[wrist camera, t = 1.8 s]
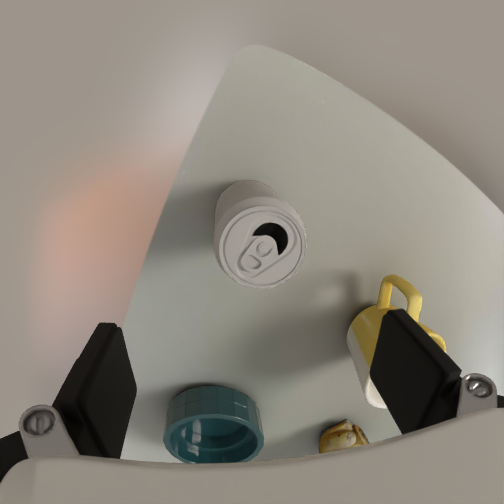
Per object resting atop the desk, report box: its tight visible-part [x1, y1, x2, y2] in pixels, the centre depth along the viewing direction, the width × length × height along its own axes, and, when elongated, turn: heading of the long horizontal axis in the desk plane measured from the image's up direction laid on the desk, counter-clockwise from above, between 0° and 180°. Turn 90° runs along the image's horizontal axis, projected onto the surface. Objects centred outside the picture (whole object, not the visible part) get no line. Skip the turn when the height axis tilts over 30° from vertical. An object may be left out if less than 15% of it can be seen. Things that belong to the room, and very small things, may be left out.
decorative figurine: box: [319, 420, 369, 454], centre depth 38 cm, size 10×8×15 cm
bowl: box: [163, 386, 264, 464], centre depth 37 cm, size 13×13×6 cm
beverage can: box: [213, 180, 307, 289], centre depth 26 cm, size 6×6×12 cm
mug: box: [347, 275, 446, 409], centre depth 32 cm, size 14×10×10 cm
